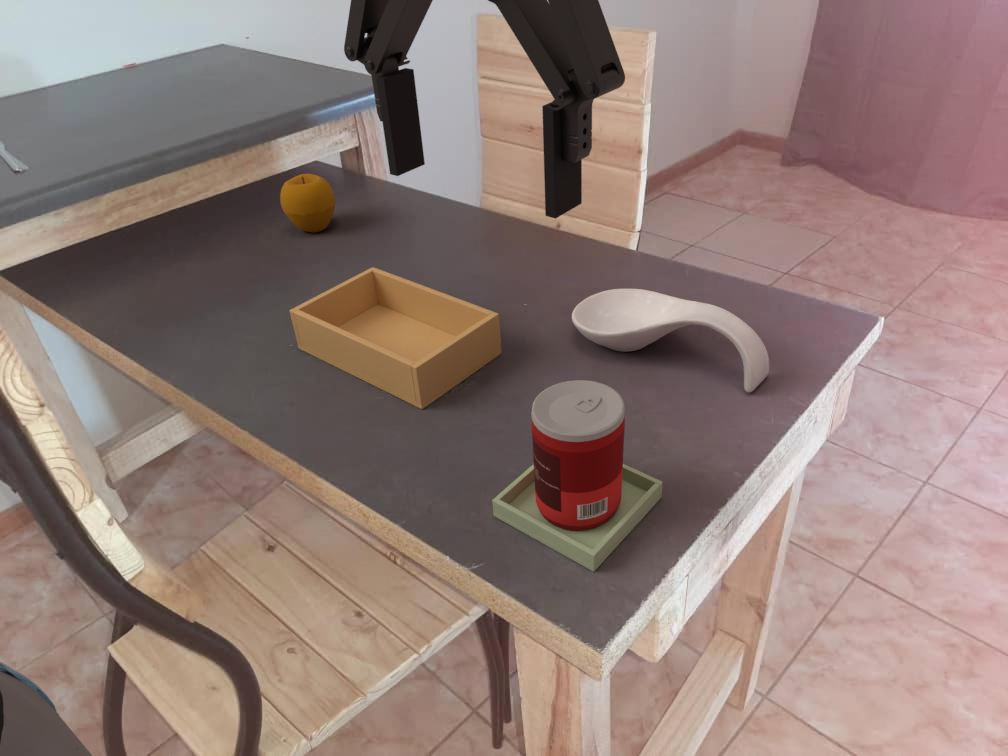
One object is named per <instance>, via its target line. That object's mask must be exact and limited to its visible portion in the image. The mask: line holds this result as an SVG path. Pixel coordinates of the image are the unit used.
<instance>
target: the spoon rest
mask: <svg viewBox="0 0 1008 756" xmlns="http://www.w3.org/2000/svg"><path fill="white" fill-rule="evenodd" d="M571 320H572V323H573V325H574V326H575V329H577V330H578V332H579V333H580V334H581V335H582V336H584V337H585V338H586V339H587V340H589V341H590V342H593V343H595V344H597V345H600V346H602V347H605V348H608V349H609V350H613V351H617V352H624V353H625V352H626V353H627V352H635V351H639V350H642V349H644V348H646V347H647V346H648V345H650V344H653V343H655V342H656V341H658V340H660V339H661V338H662V337H665V336H666V335H668V334H669V333H671V332H674V331H675V330H678V329H680V328H684V327H688V326H703V327H706V328H708V329H711V330H714V331H716V332H717V333H719V334H721V335H722V336H724V337H725V338H727V339H728V341H730V342H731V343H732V344H733V345H734V347H735V348H736V350H737V351H738V353H739V355H740V357H741V361H742V365H743V389H744V391H745V392H747V393H752V392H753V391H755V389H756V388H757V387H758V386H759V385H761V384H762V382H763V381H764V380H765V379H766V378H767V376H769V373H770V359H769V358H770V357H769V353H768V350H767V348H766V345H765V343H764V342H763V341H762V339H761V337H760V336H759V335H758V334H757V332H756V331H755V330H754V329H753V328H752V327H751V326H749V324H748V323H746V322H745V321H744V320H742V319H741V318H740V317H738V316H737V315H736V314H734V313H732V312H730V311H728V310H726V309H724V308H723V307H720V306H717V305H714V304H711V303H706V302H701V301H695V300H689V299H685V298H679V297H676V296H672V295H669V294H664V293H661V292H657V291H652V290H648V289H641V288H614V289H613V288H612V289H607V290H603V291H600V292H597V293H594V294H592V295H590V296H588V297H586V298H585V299H583V300H582V301H580V302H579V303H578V304H577V305H576V306H575V308H573V310H572V313H571Z"/></svg>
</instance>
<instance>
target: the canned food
mask: <svg viewBox="0 0 1008 756" xmlns="http://www.w3.org/2000/svg"><path fill="white" fill-rule="evenodd" d="M530 414H531V415H530V416H531V439H532V441H531V442H532V456H533V457H532V459H533V464H534V480H535V498H536V504H537V506H538V509H539V511H540V513H541V514H542V516H543V517H544V518H545V519H546V520H547V521H548V522H549V523H551V524H553V525H554V526H556V527H559V528H562V529H566V530H573V531H582V530H589V529H593V528H596V527H598V526H601V525H603V524H604V523H606V522H607V521H609V520H610V519H611V518H612V517H613V516H614V514H615V513H616V511H617V509H618V507H619V504H620V501H621V494H622V472H623V464H624V451H625V450H624V448H625V429H626V428H625V425H626V409H625V402H624V399H623V397H622V396H621V394H620V393H619V392H618V391H617V390H616V389H614V388H612V387H611V386H609V385H606V384H604V383H601V382H599V381H594V380H585V379H584V380H583V379H577V380H575V379H574V380H567V381H562V382H559V383H558V382H557V383H556V384H553V385H550V386H548V387H547V388H545V389H544V390H542V391H541V392H540V393H539V394H538V395H536V396H535V398H534V401H533V402H532V405H531V413H530Z"/></svg>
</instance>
